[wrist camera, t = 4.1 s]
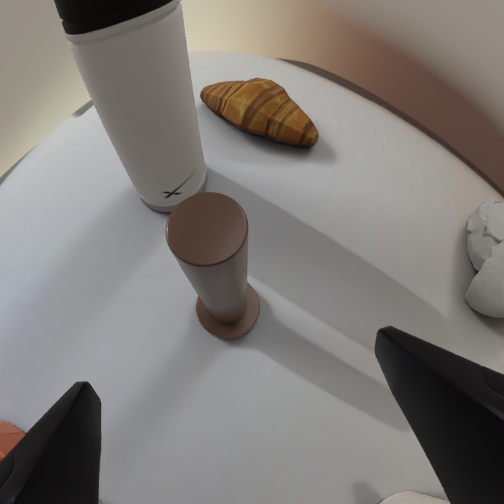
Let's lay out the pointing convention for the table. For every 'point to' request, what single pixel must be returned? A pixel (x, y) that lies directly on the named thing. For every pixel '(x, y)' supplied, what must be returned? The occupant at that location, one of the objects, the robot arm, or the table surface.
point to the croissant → (261, 110)
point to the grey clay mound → (487, 259)
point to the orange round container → (8, 437)
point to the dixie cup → (412, 499)
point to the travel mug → (141, 91)
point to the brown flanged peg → (215, 261)
